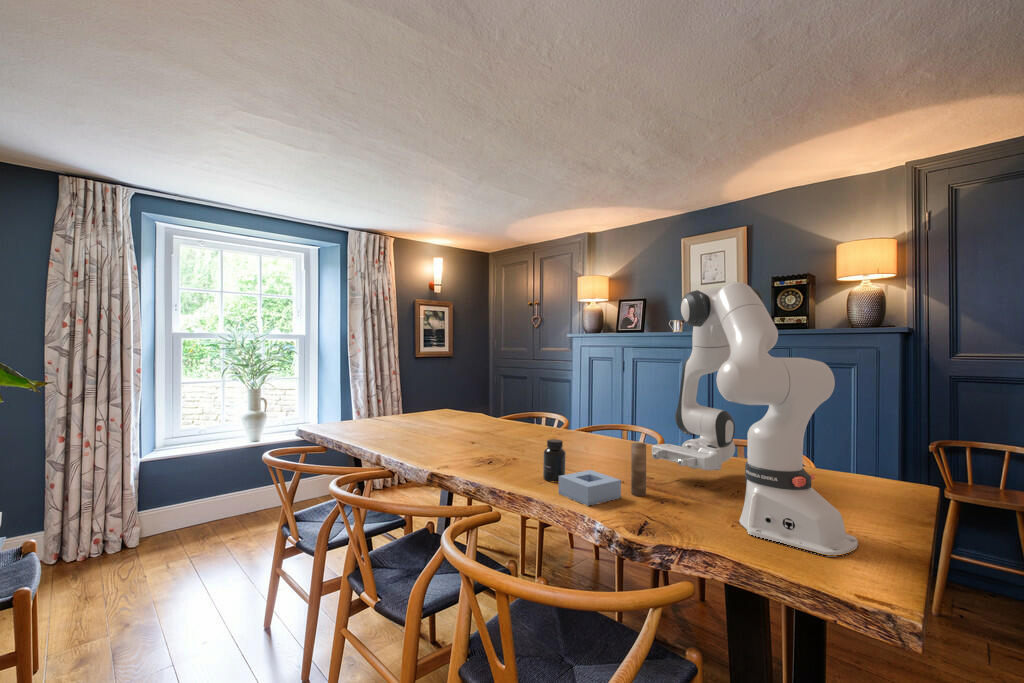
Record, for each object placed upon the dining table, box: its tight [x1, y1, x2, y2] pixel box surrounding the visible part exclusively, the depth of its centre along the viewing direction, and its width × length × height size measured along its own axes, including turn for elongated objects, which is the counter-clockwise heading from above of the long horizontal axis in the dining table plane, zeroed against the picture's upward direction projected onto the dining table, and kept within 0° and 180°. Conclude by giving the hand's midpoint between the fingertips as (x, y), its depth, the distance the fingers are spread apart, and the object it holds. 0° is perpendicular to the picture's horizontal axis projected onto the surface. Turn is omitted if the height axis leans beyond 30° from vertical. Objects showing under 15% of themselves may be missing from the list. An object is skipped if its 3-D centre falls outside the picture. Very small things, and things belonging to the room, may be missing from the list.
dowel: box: [630, 442, 647, 497], centre depth 129 cm, size 4×4×14 cm
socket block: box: [558, 469, 622, 507], centre depth 127 cm, size 12×12×5 cm
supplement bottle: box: [542, 438, 567, 482], centre depth 143 cm, size 7×7×12 cm
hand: (666, 459), depth 136 cm, fingers open, 8 cm apart
